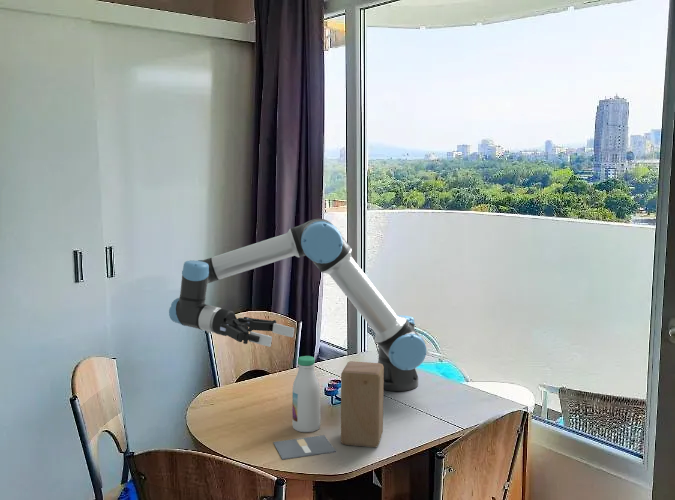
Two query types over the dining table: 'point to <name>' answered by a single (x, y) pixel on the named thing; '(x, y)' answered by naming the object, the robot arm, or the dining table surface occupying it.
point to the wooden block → (362, 403)
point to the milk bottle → (306, 397)
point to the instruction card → (304, 447)
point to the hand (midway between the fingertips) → (282, 337)
